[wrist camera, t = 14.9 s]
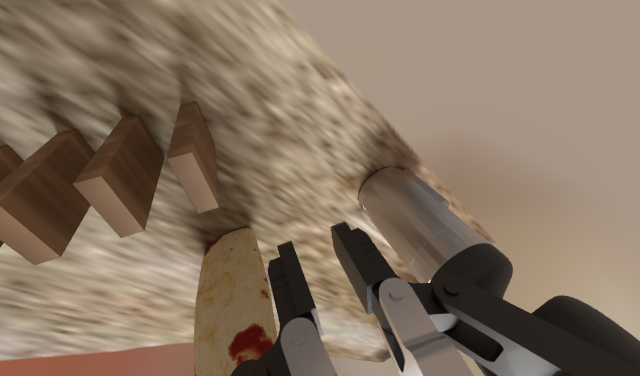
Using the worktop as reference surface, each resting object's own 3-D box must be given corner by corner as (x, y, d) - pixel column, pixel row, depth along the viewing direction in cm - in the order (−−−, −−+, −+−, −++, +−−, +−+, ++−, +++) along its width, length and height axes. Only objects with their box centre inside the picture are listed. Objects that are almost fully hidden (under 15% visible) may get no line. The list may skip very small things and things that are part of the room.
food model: (237, 212, 36) (261, 368, 20) (267, 234, 40) (306, 377, 24) (184, 253, 36) (168, 434, 21) (219, 271, 41) (228, 432, 25)
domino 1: (76, 129, 24) (-3, 203, 15) (109, 172, 27) (60, 257, 18) (57, 133, 24) (-37, 212, 15) (93, 177, 27) (34, 265, 18)
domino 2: (139, 114, 25) (101, 176, 16) (164, 157, 28) (144, 230, 19) (121, 118, 25) (72, 183, 16) (148, 162, 28) (120, 237, 19)
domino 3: (196, 101, 26) (191, 152, 17) (214, 144, 29) (219, 207, 20) (180, 105, 26) (166, 158, 17) (200, 148, 29) (198, 213, 20)
